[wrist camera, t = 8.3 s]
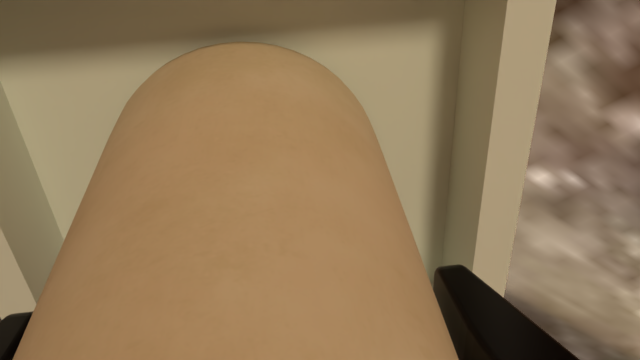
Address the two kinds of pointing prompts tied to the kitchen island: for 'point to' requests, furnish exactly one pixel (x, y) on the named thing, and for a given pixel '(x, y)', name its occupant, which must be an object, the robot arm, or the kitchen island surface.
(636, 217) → the kitchen island surface
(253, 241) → the candle
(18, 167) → the parts tray
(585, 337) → the kitchen island surface
